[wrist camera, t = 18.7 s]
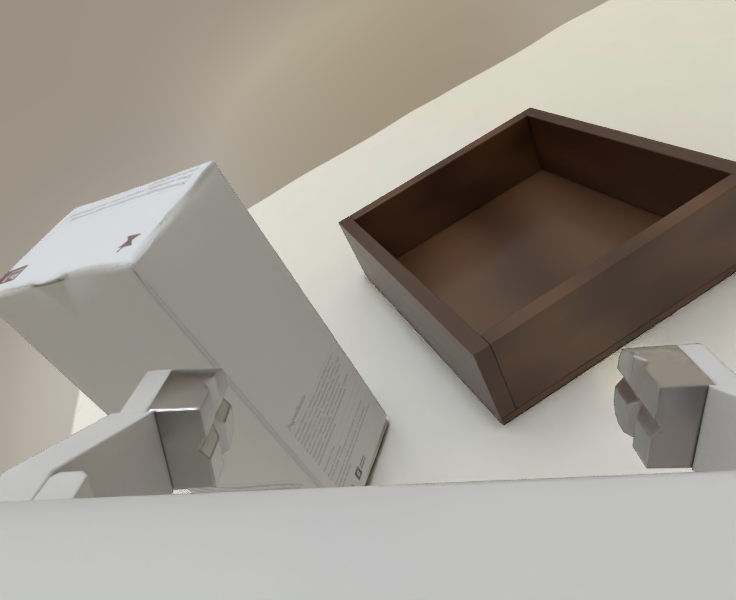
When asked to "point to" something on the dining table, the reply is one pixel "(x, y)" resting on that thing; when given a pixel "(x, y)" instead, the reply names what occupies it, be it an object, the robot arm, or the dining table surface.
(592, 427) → the dining table surface
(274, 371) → the cosmetic box
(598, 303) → the crate
